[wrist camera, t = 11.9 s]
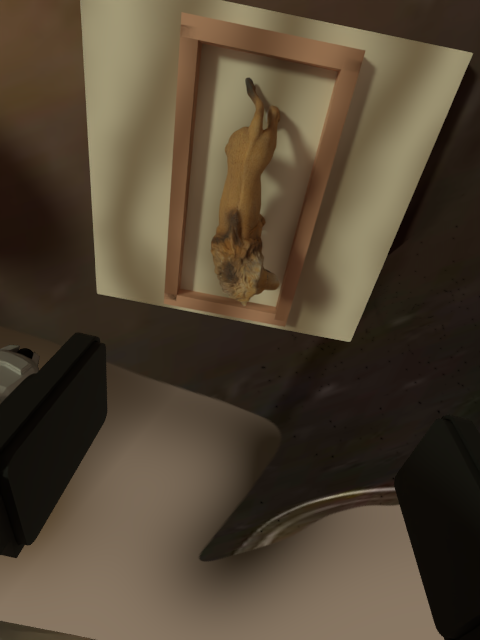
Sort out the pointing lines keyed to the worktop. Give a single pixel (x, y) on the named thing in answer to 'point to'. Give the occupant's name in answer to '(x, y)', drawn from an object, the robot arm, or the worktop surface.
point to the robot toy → (15, 368)
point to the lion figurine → (245, 207)
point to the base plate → (285, 166)
